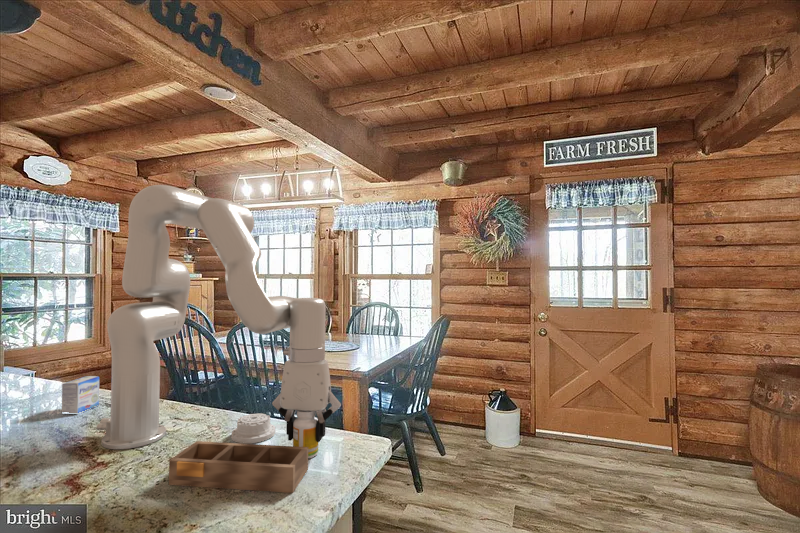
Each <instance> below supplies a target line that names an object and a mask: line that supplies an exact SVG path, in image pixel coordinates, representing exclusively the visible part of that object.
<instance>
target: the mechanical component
mask: <svg viewBox="0 0 800 533" xmlns="http://www.w3.org/2000/svg"><path fill="white" fill-rule="evenodd" d="M236 422H237V424H236V428H234V429H232V431H231V433H230V434H231V441H233V442H234V443H240V444H256V443H257V444H258V443H262V442H265V441H267V439H268V440H270V439H271V437H272V436H273V437H274V436H275V435H276V426H275V425H274V424H272V423H271V416H270V415H267V414H266V413H262V412H261V413H249V414H247V415H243V416H240V417H239V418H238V419H237V421H236ZM274 434H275V435H274ZM273 437H272V438H273ZM269 438H270V439H269ZM264 440H265V441H264ZM261 441H262V442H261Z"/></svg>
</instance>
